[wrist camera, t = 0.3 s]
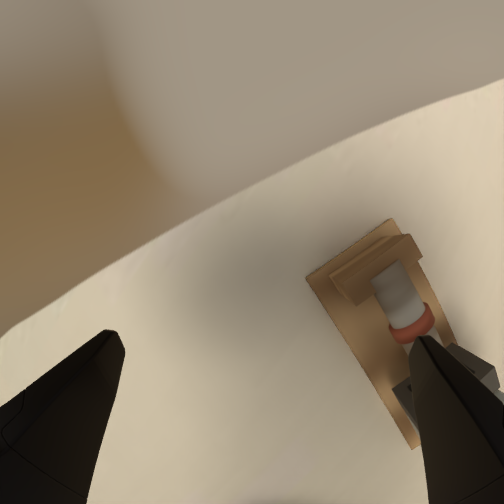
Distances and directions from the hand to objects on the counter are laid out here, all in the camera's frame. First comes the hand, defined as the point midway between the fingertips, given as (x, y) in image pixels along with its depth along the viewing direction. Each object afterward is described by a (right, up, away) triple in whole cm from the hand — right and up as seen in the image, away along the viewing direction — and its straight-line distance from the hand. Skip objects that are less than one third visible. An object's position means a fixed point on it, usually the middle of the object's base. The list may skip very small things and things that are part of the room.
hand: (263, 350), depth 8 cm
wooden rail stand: (+12, -5, +13) cm, 19 cm away
